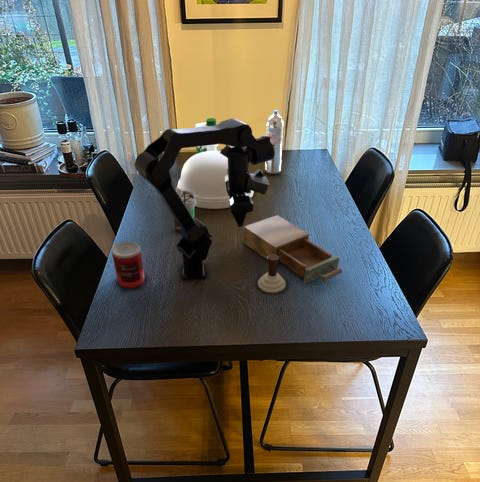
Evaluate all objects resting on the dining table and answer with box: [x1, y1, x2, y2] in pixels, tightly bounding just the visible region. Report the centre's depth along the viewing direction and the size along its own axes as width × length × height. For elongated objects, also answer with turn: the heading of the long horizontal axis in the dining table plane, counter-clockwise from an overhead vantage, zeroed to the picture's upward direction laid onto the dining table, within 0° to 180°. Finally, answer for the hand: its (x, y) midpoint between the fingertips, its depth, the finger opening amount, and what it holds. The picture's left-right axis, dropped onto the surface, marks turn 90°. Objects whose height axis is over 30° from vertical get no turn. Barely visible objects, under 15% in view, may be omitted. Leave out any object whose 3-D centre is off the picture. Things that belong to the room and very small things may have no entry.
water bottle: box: [264, 109, 285, 176], centre depth 186 cm, size 7×7×25 cm
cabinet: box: [243, 214, 310, 264], centre depth 144 cm, size 16×14×6 cm
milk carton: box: [194, 117, 219, 154], centre depth 190 cm, size 9×9×20 cm
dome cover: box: [175, 150, 254, 210], centre depth 174 cm, size 32×30×14 cm
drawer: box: [277, 238, 343, 284], centre depth 134 cm, size 19×12×4 cm, turn 36°
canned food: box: [111, 241, 146, 289], centre depth 127 cm, size 8×8×11 cm
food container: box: [173, 191, 196, 232], centre depth 153 cm, size 12×6×10 cm, turn 168°
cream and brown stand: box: [257, 254, 287, 294], centre depth 127 cm, size 8×8×9 cm
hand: (238, 218), depth 134 cm, fingers open, 9 cm apart
